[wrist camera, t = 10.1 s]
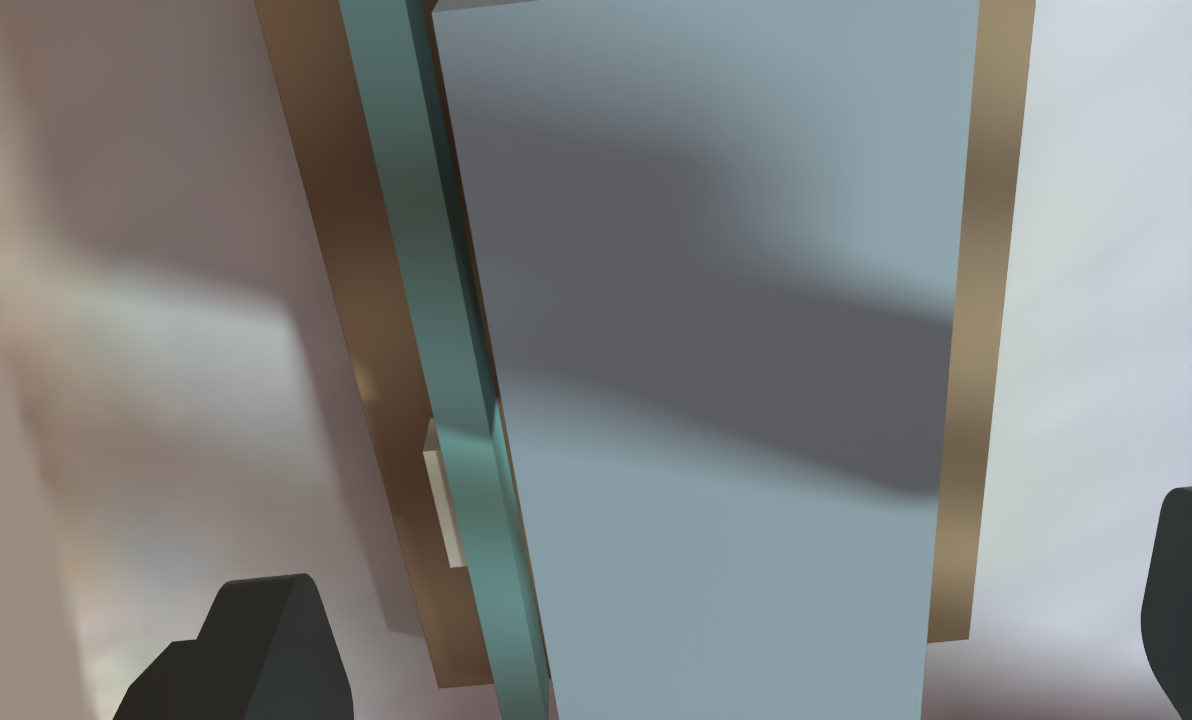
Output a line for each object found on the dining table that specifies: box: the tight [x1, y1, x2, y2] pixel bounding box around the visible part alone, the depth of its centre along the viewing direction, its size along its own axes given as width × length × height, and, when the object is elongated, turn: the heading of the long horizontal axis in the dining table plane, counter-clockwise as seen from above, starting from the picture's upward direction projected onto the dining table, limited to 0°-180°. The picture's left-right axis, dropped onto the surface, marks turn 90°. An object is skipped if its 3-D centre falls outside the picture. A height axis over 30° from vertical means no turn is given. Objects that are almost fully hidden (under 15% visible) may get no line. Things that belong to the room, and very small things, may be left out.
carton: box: [432, 0, 980, 720], centre depth 15 cm, size 5×10×9 cm, turn 6°
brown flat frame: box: [254, 0, 1036, 720], centre depth 19 cm, size 25×13×3 cm, turn 6°
